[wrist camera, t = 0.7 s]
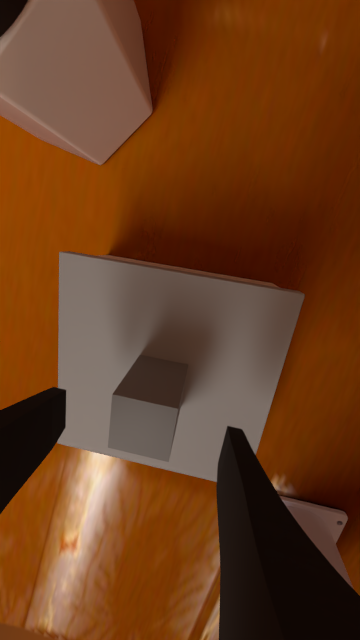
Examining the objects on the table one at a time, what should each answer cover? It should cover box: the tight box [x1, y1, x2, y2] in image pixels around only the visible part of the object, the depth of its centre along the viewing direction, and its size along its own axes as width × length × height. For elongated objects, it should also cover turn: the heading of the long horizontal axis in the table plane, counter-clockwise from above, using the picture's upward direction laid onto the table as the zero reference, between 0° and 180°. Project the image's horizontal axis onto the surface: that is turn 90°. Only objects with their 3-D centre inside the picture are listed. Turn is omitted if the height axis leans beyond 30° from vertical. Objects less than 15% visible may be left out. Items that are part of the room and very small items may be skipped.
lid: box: [58, 251, 305, 482], centre depth 13 cm, size 13×13×5 cm
